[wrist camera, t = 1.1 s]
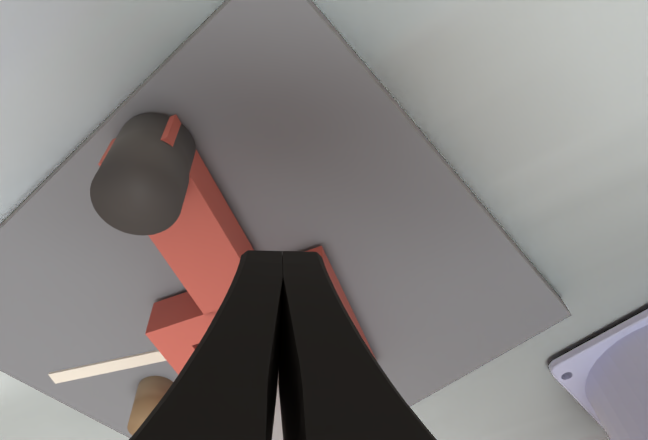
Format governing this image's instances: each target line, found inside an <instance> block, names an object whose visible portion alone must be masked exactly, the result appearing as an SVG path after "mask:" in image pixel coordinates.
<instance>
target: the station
mask: <svg viewBox="0 0 648 440" xmlns="http://www.w3.org/2000/svg"><path fill="white" fill-rule="evenodd" d="M145 113H159V114H164V115H167V116H173V115H175V114H176V115H177V117H178V119H179V120H180V122H181V124H183V125H184V126H185V127H186V128H187V129H188V131H189V132H190V134H191V135H192V137H193V139H194V142H195V145H196V150H197V152H198V153H199V155H200V157H201V159H202V160H203V162H204V164H205V166H206V167H207V169H208V171H209V173H210V174H211V176H212V178H213V180H214V181H215V183H216V185H217V187H218V188H219V190H220V192H221V193H222V195H223V197H224V199H225V200H226V202H227V204H228V206H229V207H230V209H231V211H232V213H233V214H234V216H235V218H236V220H237V221H238V223H239V225H240V227H241V228H242V230H243V232H244V234H245V235H246V237H247V239H248V241H249V242H250V244H251V246H252V248H253V249H254V250H258V251H308V250H310V249H313V248H316V247H319V246H322V248H323V250H324V252H325V254H326V256H327V258H328V260H329V262H330V264H331V266H332V268H333V271H334V273H335V275H336V277H337V279H338V281H339V283H340V285H341V287H342V289H343V291H344V293H345V296H346V298H347V300H348V302H349V304H350V306H351V308H352V310H353V312H354V314H355V316H356V318H357V321H358V323H359V325H360V327H361V329H362V331H363V333H364V335H365V337H366V339H367V341H368V343H369V346H370V348H371V350H372V352H373V354H374V356H375V358H376V360H377V362H378V364H379V365H380V366H381V368H382V369H383V371H384V372H385V374H386V375H387V377H388V378H389V380H390V381H391V382H392V384H393V385H394V387H395V388H396V389H397V391H398V392H399V394H400V395H401V396H402V398H403V399H404V400H405V402H406V403H407V404H408V405H409V407H410V406H412V405H414V404H415V403H417V402H419V401H421V400H422V399H424V398H426V397H428V396H430V395H431V394H433V393H435V392H437V391H438V390H440V389H442V388H444V387H445V386H447V385H449V384H451V383H453V382H454V381H456V380H458V379H460V378H461V377H463V376H465V375H467V374H468V373H470V372H472V371H474V370H476V369H477V368H479V367H481V366H483V365H484V364H486V363H488V362H490V361H491V360H493V359H495V358H497V357H498V356H500V355H502V354H504V353H506V352H507V351H509V350H511V349H513V348H514V347H516V346H518V345H520V344H521V343H523V342H525V341H527V340H529V339H530V338H532V337H534V336H536V335H537V334H539V333H541V332H543V331H544V330H546V329H548V328H550V327H552V326H553V325H555V324H557V323H559V322H560V321H562V320H564V319H566V318H567V317H569V316H571V314H570V312H569V310H568V309H567V307H566V306H565V304H564V302H563V301H562V299H561V298H560V297H559V296H558V294H557V293H556V292H555V291H554V290H553V288H552V287H551V286H550V285H549V284H548V282H547V281H546V280H545V279H544V278H543V276H542V275H541V274H540V273H539V272H538V270H537V269H536V268H535V267H534V266H533V264H532V263H531V262H530V261H529V260H528V258H527V257H526V256H525V255H524V254H523V252H522V251H521V250H520V249H519V248H518V247H517V245H516V244H515V243H514V242H513V241H512V239H511V238H510V237H509V236H508V235H507V233H506V232H505V231H504V230H503V229H502V227H501V226H500V225H499V224H498V223H497V221H496V220H495V219H494V218H493V217H492V215H491V214H490V213H489V212H488V211H487V209H486V208H485V207H484V206H483V205H482V203H481V202H480V201H479V200H478V199H477V197H476V196H475V195H474V194H473V193H472V192H471V190H470V189H469V188H468V187H467V186H466V184H465V183H464V182H463V181H462V180H461V178H460V177H459V176H458V175H457V174H456V172H455V171H454V170H453V169H452V168H451V166H450V165H449V164H448V163H447V162H446V160H445V159H444V158H443V157H442V156H441V154H440V153H439V152H438V151H437V150H436V148H435V147H434V146H433V145H432V144H431V143H430V141H429V140H428V139H427V138H426V137H425V135H424V134H423V133H422V132H421V131H420V129H419V128H418V127H417V126H416V125H415V123H414V122H413V121H412V120H411V119H410V117H409V116H408V115H407V114H406V113H405V111H404V110H403V109H402V108H401V107H400V105H399V104H398V103H397V102H396V101H395V99H394V98H393V97H392V96H391V95H390V93H389V92H388V91H387V90H386V89H385V88H384V86H383V85H382V84H381V83H380V82H379V80H378V79H377V78H376V77H375V76H374V74H373V73H372V72H371V71H370V70H369V68H368V67H367V66H366V65H365V64H364V62H363V61H362V60H361V59H360V58H359V56H358V55H357V54H356V53H355V52H354V50H353V49H352V48H351V47H350V46H349V44H348V43H347V42H346V41H345V40H344V39H343V37H342V36H341V35H340V34H339V33H338V31H337V30H336V29H335V28H334V27H333V25H332V24H331V23H330V22H329V21H328V19H327V18H326V17H325V16H324V15H323V13H322V12H321V11H320V10H319V9H318V7H317V6H316V5H315V4H314V3H313V1H312V0H226V1H225V2H224V3H223V4H222V5H221V6H220V7H219V8H218V9H217V10H216V11H215V12H214V13H213V14H212V15H211V16H210V17H209V18H208V19H207V20H206V21H205V22H204V23H203V24H202V25H201V26H200V27H199V28H198V29H197V30H196V31H195V32H193V33H192V34H191V35H190V36H189V37H188V38H187V39H186V40H185V41H184V42H183V43H182V44H181V45H180V46H179V47H178V48H177V49H176V50H175V51H174V52H173V53H172V54H171V55H170V56H169V57H168V58H167V59H166V60H165V61H164V62H163V63H162V64H161V65H160V66H159V67H158V68H157V69H156V70H155V71H154V72H153V73H152V74H151V75H150V76H149V77H148V78H147V79H146V80H145V81H144V82H143V83H142V84H141V85H140V86H139V87H138V88H137V89H136V90H135V91H134V92H133V93H132V94H131V95H130V96H129V97H128V98H127V99H126V100H125V101H124V102H123V103H122V104H121V105H120V106H119V107H118V108H117V109H116V110H115V111H114V112H113V113H112V114H111V115H110V116H109V117H108V118H107V119H106V120H105V121H104V122H103V123H102V124H101V125H100V126H99V127H98V128H97V129H96V130H95V131H94V132H93V133H92V134H91V135H90V136H89V137H88V138H87V139H86V140H85V141H84V142H83V143H82V144H81V145H80V146H79V147H78V148H77V149H76V150H75V151H74V152H73V153H72V154H71V155H70V156H69V157H68V158H67V159H66V160H65V161H64V162H63V163H62V164H61V165H60V166H59V167H58V168H57V169H56V170H55V171H54V172H53V173H52V174H51V175H50V176H49V177H48V178H47V179H46V180H45V181H44V182H43V183H42V184H41V185H40V186H39V187H38V188H37V189H36V190H35V191H34V192H33V193H32V194H30V195H29V196H28V197H27V198H26V199H25V200H24V201H23V202H22V203H21V204H20V205H19V206H18V207H17V208H16V209H15V210H14V211H13V212H12V213H11V214H10V215H9V216H8V217H7V218H6V219H5V220H4V221H3V222H2V223H1V224H0V371H2V372H4V373H6V374H8V375H10V376H11V377H13V378H15V379H17V380H19V381H21V382H23V383H25V384H27V385H29V386H31V387H33V388H35V389H36V390H38V391H40V392H42V393H44V394H46V395H48V396H50V397H52V398H54V399H56V400H58V401H60V402H61V403H63V404H65V405H67V406H69V407H71V408H73V409H75V410H77V411H79V412H81V413H83V414H85V415H86V416H88V417H90V418H92V419H94V420H96V421H98V422H100V423H102V424H104V425H106V426H108V427H110V428H111V429H113V430H115V431H117V432H119V433H121V434H123V435H125V436H127V437H129V438H131V437H132V435H131V434H130V433H129V431H128V429H127V426H128V422H129V418H130V414H131V410H132V407H133V403H134V399H135V395H136V391H137V388H138V384H139V382H140V381H141V380H142V379H144V378H146V377H149V376H162V377H165V378H168V379H170V380H171V381H172V382H174V381H175V379H176V378H177V376H178V374H177V373H176V371H175V370H174V369H173V368H172V366H171V365H170V364H169V363H168V362H167V360H166V359H165V358H164V357H163V355H162V354H161V353H160V352H159V350H158V349H157V348H156V347H155V346H154V344H153V343H152V342H151V341H150V339H149V338H148V337H147V336H146V334H145V332H146V329H147V325H148V322H149V318H150V314H151V311H152V307H153V304H154V303H155V302H158V301H161V300H164V299H167V298H170V297H173V296H176V295H179V294H182V293H185V292H187V290H186V289H185V287H184V286H183V284H182V283H181V281H180V280H179V279H178V277H177V276H176V274H175V273H174V271H173V270H172V269H171V267H170V266H169V264H168V263H167V261H166V260H165V259H164V257H163V256H162V254H161V253H160V252H159V250H158V249H157V247H156V246H155V244H154V243H153V242H152V240H151V239H150V237H149V236H148V235H144V236H142V235H132V234H128V233H125V232H122V231H119V230H117V229H115V228H113V227H112V226H110V225H109V224H107V223H106V222H105V221H104V220H103V219H102V218H101V217H100V216H99V215H98V214H97V212H96V211H95V209H94V207H93V205H92V202H91V198H90V186H91V183H92V180H93V178H94V176H95V174H96V173H97V171H98V169H99V167H100V166H99V165H98V163H99V162H100V160H101V158H102V156H103V155H104V153H105V151H106V149H107V148H108V146H109V144H110V142H111V141H112V139H115V138H116V137H117V136H118V134H119V132H120V130H121V128H122V127H123V126H124V124H125V123H126V122H127V121H128V120H130V119H131V118H133V117H135V116H137V115H140V114H145ZM272 440H283V432H282V421H281V409H280V398H279V386H278V387H277V397H276V406H275V415H274V425H273V434H272Z"/></svg>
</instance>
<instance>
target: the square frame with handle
mask: <svg viewBox="0 0 648 440" xmlns="http://www.w3.org/2000/svg"><path fill="white" fill-rule="evenodd" d="M98 165H99V166H100V167H99V169H98V171H97V173H96V174H95V176H94V178H93V180H92V183H91V186H90V198H91V202H92V205H93V207H94V209H95V211H96V212H97V214H98V215H99V216H100V217H101V218H102V219H103V220H104V221H105V222H106V223H107V224H109V225H110V226H112V227H113V228H115V229H117V230H119V231H122V232H125V233H128V234H132V235H142V236H144V235H148V236H149V237H150V239H151V240H152V242H153V243H154V244H155V246H156V247H157V249H158V250H159V252H160V253H161V254H162V256H163V257H164V259H165V260H166V261H167V263H168V264H169V266H170V267H171V269H172V270H173V271H174V273H175V274H176V276H177V277H178V279H179V280H180V281H181V283H182V284H183V286H184V287H185V289H186V290H187V292H185V293H182V294H179V295H176V296H173V297H170V298H167V299H164V300H161V301H158V302H155V303H154V304H153V307H152V311H151V314H150V318H149V322H148V325H147V329H146V332H145V334H146V336H147V337H148V338H149V339H150V341H151V342H152V343H153V344H154V346H155V347H156V348H157V349H158V350H159V352H160V353H161V354H162V355H163V357H164V358H165V359H166V360H167V362H168V363H169V364H170V365H171V366H172V368H173V369H174V370H175V371H176V373H177V374H178V375H179V373H180V372H181V370H182V369H183V367H184V366H185V364H186V363H187V361H188V359H189V358H190V356H191V355H192V353H193V352H194V350H195V349H196V347H197V346H198V344H199V342H200V341H201V339H202V338H203V336H204V334H205V333H206V331H207V329H208V327H209V325H210V324H211V322H212V320H213V318H214V316H215V315H216V313H217V311H218V309H219V307H220V306H221V304H222V302H223V300H224V298H225V296H226V294H227V292H228V289H229V287H230V285H231V283H232V281H233V278H234V276H235V274H236V271H237V268H238V265H239V262H240V258H241V255H242V254H244V253H245V252H246V251H248V250H254V249H253V248H252V246H251V244H250V242H249V241H248V239H247V237H246V235H245V234H244V232H243V230H242V228H241V227H240V225H239V223H238V221H237V220H236V218H235V216H234V214H233V213H232V211H231V209H230V207H229V206H228V204H227V202H226V200H225V199H224V197H223V195H222V193H221V192H220V190H219V188H218V187H217V185H216V183H215V181H214V180H213V178H212V176H211V174H210V173H209V171H208V169H207V167H206V166H205V164H204V162H203V160H202V159H201V157H200V155H199V153H198V152H197V150H196V145H195V142H194V139H193V137H192V135H191V134H190V132H189V131H188V129H187V128H186V127H185V126H184V125H183V124H181V122H180V120H179V119H178V117H177V115H176V114H175V115H173V116H167V115H164V114H159V113H145V114H140V115H137V116H135V117H133V118H131V119H130V120H128V121H127V122H126V123H125V124H124V126H123V127H122V128H121V130H120V132H119V134H118V136H117V137H116V138H115V139H112V141H111V142H110V144H109V146H108V148H107V149H106V151H105V153H104V155H103V156H102V158H101V160H100V162H99V163H98ZM305 252H317V253H318V254H319V255H320V256H321V257H322V259H323V262H324V264H325V267H326V270H327V272H328V274H329V277H330V279H331V281H332V283H333V285H334V288H335V290H336V292H337V294H338V296H339V298H340V300H341V302H342V304H343V305H344V307H345V309H346V311H347V313H348V315H349V316H350V318H351V320H352V322H353V323H354V325H355V327H356V328H357V330H358V332H359V333H360V335H361V337H362V339H363V340H364V342H365V343H366V345H367V347H368V348H369V350H370V351H371V353H372V355H373V356H374V354H373V352H372V350H371V348H370V346H369V343H368V341H367V339H366V337H365V335H364V333H363V331H362V329H361V327H360V325H359V323H358V321H357V318H356V316H355V314H354V312H353V310H352V308H351V306H350V304H349V302H348V300H347V298H346V296H345V293H344V291H343V289H342V287H341V285H340V283H339V281H338V279H337V277H336V275H335V273H334V271H333V268H332V266H331V264H330V262H329V260H328V258H327V256H326V254H325V252H324V250H323V248H322V246H319V247H316V248H313V249H310V250H308V251H305ZM374 358H375V356H374ZM375 359H376V358H375ZM376 361H377V360H376Z"/></svg>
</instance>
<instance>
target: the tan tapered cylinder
mask: <svg viewBox="0 0 648 440" xmlns="http://www.w3.org/2000/svg"><path fill="white" fill-rule="evenodd" d="M172 383H173V382H172V381H171V380H170V379H168V378H165V377H162V376H149V377H146V378H144V379H142V380H141V381H140V382H139V384H138V388H137V391H136V395H135V399H134V403H133V407H132V410H131V414H130V418H129V422H128V426H127V429H128V431H129V433H130V434H131V435H132V436H133V434H134V433H135V432H136V431H137V430H138V428H139V427H140V426H141V425H142V423H143V422H144V421H145V420H146V418H147V417H148V416H149V414H150V413H151V412H152V410H153V409H154V408H155V407H156V405H157V404H158V403H159V401H160V400H161V399H162V397H163V396H164V395H165V393H166V392H167V390H168V389H169V388H170V386H171V385H172Z"/></svg>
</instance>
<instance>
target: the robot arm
mask: <svg viewBox="0 0 648 440" xmlns="http://www.w3.org/2000/svg"><path fill="white" fill-rule="evenodd" d="M548 368H549V370H550V372H551V374H552V376H553V377H554V378H555V379H556V380H557V381H558V382H559V383H560V384H561V385H562V386H563V387H564V388H565V389H566V390H567V391H568V392H569V393H570V394H571V395H572V396H573V397H574V398H575V399H576V400H577V401H578V402H579V404H580V405H581V406H582V407H583V408H584V409H585V410H586V411H587V412H588V413H589V414H590V415H591V416H592V417H593V418H594V419H595V420H596V421H597V422H598V423H599V424H600V425H601V426H602V427H603V428H604V429H605V431H606V433H607V435H608V436H609V438H610V440H648V309H646V310H644V311H643V312H641V313H639V314H637V315H635V316H633V317H632V318H630V319H628V320H626V321H624V322H622V323H620V324H619V325H617V326H615V327H613V328H611V329H609V330H608V331H606V332H604V333H602V334H600V335H598V336H597V337H595V338H593V339H591V340H589V341H587V342H585V343H584V344H582V345H580V346H578V347H576V348H574V349H573V350H571V351H569V352H567V353H565V354H563V355H561V356H560V357H558V358H556V359H554V360H553V361H551V363H550V364H549V367H548ZM278 386H279V398H280V409H281V421H282V432H283V440H436V439H435V437H434V436H433V435H432V434H431V433H430V432H429V430H428V429H427V428H426V427H425V426H424V424H423V423H422V422H421V421H420V419H419V418H418V417H417V415H416V414H415V413H414V412H413V410H412V409H411V408H410V407H409V405H408V404H407V403H406V402H405V400H404V399H403V398H402V396H401V395H400V394H399V392H398V391H397V389H396V388H395V387H394V385H393V384H392V382H391V381H390V380H389V378H388V377H387V375H386V374H385V372H384V371H383V369H382V368H381V366H380V365H379V364H378V362H377V361H376V359H375V358H374V356H373V355H372V353H371V351H370V350H369V348H368V347H367V345H366V343H365V342H364V340H363V339H362V337H361V335H360V333H359V332H358V330H357V328H356V327H355V325H354V323H353V322H352V320H351V318H350V316H349V315H348V313H347V311H346V309H345V307H344V305H343V304H342V302H341V300H340V298H339V296H338V294H337V292H336V290H335V288H334V285H333V283H332V281H331V279H330V277H329V274H328V272H327V270H326V267H325V264H324V262H323V259H322V257H321V256H320V255H319V254H318V253H317V252H305V251H258V250H248V251H246V252H245V253H244V254H242V255H241V258H240V262H239V265H238V268H237V271H236V274H235V276H234V278H233V281H232V283H231V285H230V287H229V289H228V292H227V294H226V296H225V298H224V300H223V302H222V304H221V306H220V307H219V309H218V311H217V313H216V315H215V316H214V318H213V320H212V322H211V324H210V325H209V327H208V329H207V331H206V333H205V334H204V336H203V338H202V339H201V341H200V342H199V344H198V346H197V347H196V349H195V350H194V352H193V353H192V355H191V356H190V358H189V359H188V361H187V363H186V364H185V366H184V367H183V369H182V370H181V372H180V373H179V375H178V376H177V378H176V379H175V381H174V382H173V383H172V385H171V386H170V388H169V389H168V390H167V392H166V393H165V395H164V396H163V397H162V399H161V400H160V401H159V403H158V404H157V405H156V407H155V408H154V409H153V410H152V412H151V413H150V414H149V416H148V417H147V418H146V420H145V421H144V422H143V423H142V425H141V426H140V427H139V428H138V430H137V431H136V432H135V433H134V434H133V436H132V437H131V438H130V439H129V440H272V434H273V425H274V415H275V406H276V397H277V387H278Z"/></svg>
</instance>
